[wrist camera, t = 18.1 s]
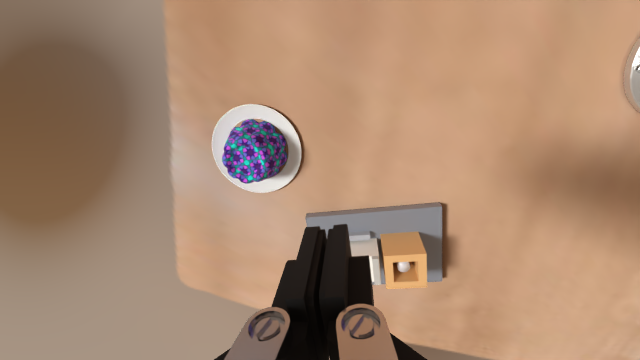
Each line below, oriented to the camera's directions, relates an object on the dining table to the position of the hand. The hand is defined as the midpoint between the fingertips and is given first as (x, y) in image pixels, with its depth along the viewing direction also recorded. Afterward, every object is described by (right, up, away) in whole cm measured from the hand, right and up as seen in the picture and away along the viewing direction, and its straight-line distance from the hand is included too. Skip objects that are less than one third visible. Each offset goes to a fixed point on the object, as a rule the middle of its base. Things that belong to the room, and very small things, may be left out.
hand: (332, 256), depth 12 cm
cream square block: (+6, -7, +30) cm, 31 cm away
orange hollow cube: (+11, -6, +29) cm, 32 cm away
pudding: (-9, +7, +28) cm, 30 cm away
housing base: (+7, -6, +31) cm, 32 cm away
